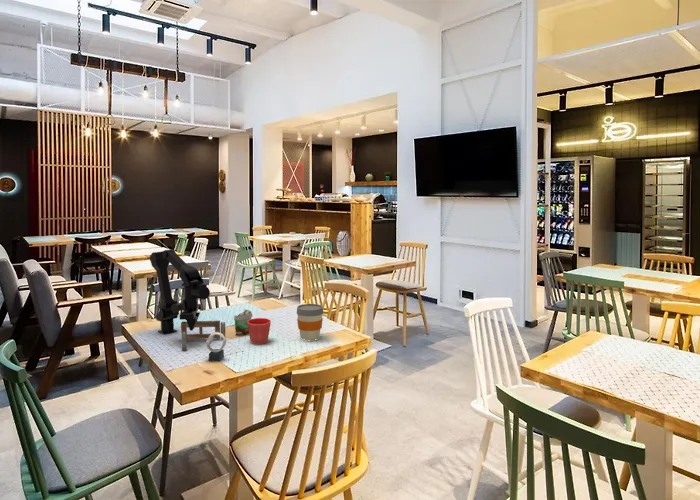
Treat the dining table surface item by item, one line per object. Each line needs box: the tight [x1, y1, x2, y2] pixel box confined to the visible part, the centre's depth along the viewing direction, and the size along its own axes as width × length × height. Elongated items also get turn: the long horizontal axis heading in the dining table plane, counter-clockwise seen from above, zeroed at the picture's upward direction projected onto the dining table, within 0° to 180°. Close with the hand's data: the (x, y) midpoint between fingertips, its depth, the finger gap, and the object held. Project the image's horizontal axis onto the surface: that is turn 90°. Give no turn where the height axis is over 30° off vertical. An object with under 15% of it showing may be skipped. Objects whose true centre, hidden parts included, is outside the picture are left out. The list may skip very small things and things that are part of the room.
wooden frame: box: [180, 320, 221, 340], centre depth 212 cm, size 2×17×8 cm, turn 98°
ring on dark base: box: [205, 331, 227, 362], centre depth 188 cm, size 6×8×11 cm
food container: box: [233, 309, 253, 336], centre depth 223 cm, size 12×6×10 cm, turn 168°
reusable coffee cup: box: [296, 303, 324, 341], centre depth 217 cm, size 13×12×15 cm
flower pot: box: [247, 317, 272, 345], centre depth 211 cm, size 11×11×10 cm
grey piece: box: [180, 321, 227, 352], centre depth 206 cm, size 2×22×8 cm, turn 141°
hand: (192, 329), depth 212 cm, fingers open, 2 cm apart
